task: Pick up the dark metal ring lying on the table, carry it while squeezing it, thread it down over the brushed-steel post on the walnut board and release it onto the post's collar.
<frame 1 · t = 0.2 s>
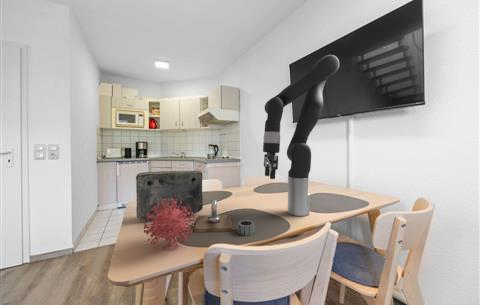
hand: (269, 177, 93), 17 cm above the table, tool pointing down, fingers open, 8 cm apart
virus model: (170, 247, 63), on the table
ring: (245, 231, 74), on the table
board: (214, 224, 81), on the table
concrete block: (171, 217, 88), on the table
post: (214, 211, 81), on the board, point 5 cm above the table
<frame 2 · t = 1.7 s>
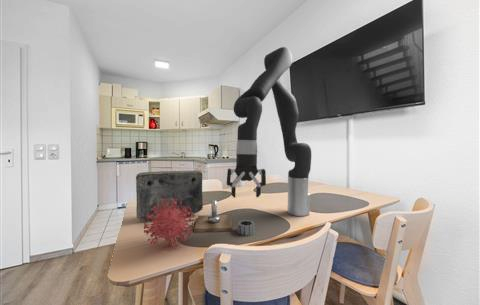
hand: (245, 197, 74), 13 cm above the table, tool pointing down, fingers open, 8 cm apart
nothing on the table moved.
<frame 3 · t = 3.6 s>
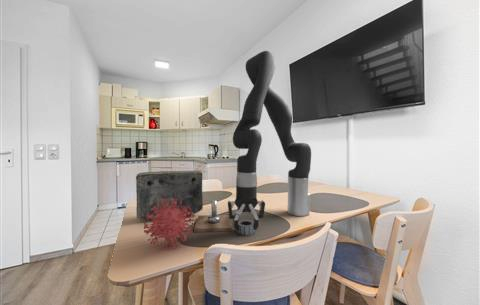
hand: (245, 229, 74), 1 cm above the table, tool pointing down, fingers closed on ring, 6 cm apart
ring: (245, 231, 74), on the table, touching gripper
everything else where it was.
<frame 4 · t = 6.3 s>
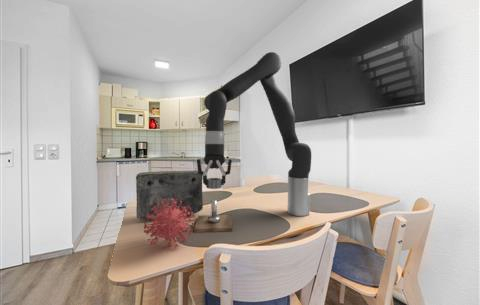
hand: (214, 184, 81), 16 cm above the table, tool pointing down, fingers closed on ring, 6 cm apart
ring: (214, 187, 81), point 15 cm above the table, touching gripper
everything else where it was.
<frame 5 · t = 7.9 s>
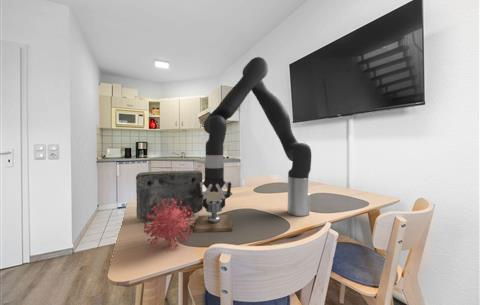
hand: (214, 207, 81), 7 cm above the table, tool pointing down, fingers closed on ring, 6 cm apart
ring: (214, 210, 81), point 6 cm above the table, touching gripper
everything else where it was.
when the fingers open (6 cm above the table, at t = 9.2 s): ring drops 2 cm, resting on post.
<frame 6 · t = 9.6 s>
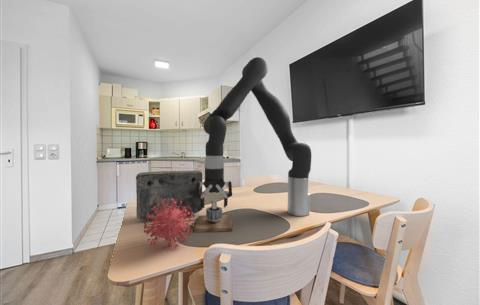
hand: (214, 207, 81), 7 cm above the table, tool pointing down, fingers open, 8 cm apart
ring: (214, 216, 81), point 3 cm above the table, touching post
everything else where it was.
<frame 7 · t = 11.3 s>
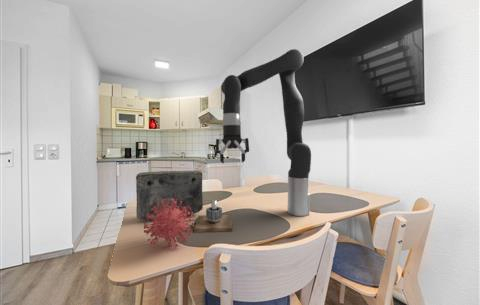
hand: (232, 162, 86), 24 cm above the table, tool pointing down, fingers open, 8 cm apart
nothing on the table moved.
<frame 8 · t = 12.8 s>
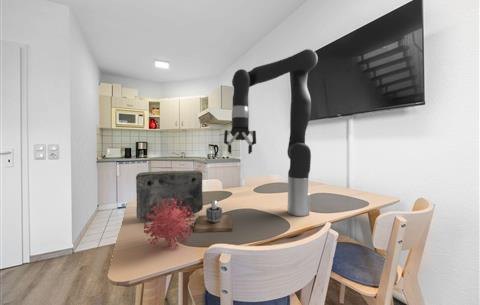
hand: (239, 153, 90), 28 cm above the table, tool pointing down, fingers open, 8 cm apart
nothing on the table moved.
at the end: ring 0.0 cm off-centre on the post, point 3.0 cm above the post's base; the gripper is holding nothing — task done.
